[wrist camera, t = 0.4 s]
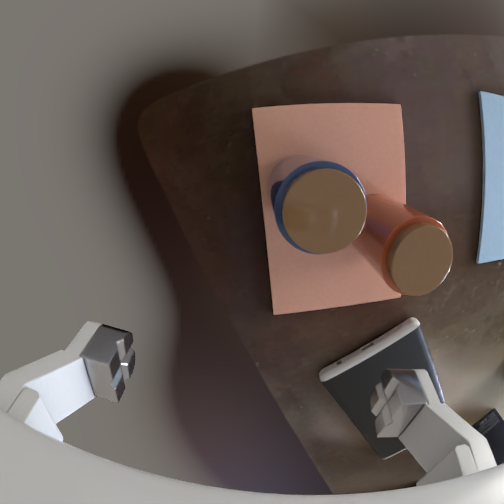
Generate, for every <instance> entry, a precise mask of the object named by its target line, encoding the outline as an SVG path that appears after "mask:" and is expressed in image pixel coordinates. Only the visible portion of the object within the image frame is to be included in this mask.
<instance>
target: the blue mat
mask: <svg viewBox="0 0 504 504" xmlns="http://www.w3.org/2000/svg"><path fill="white" fill-rule="evenodd" d="M478 96H479V105H480V116H481V129H482V149H483V189H482V210H481V224H480V234H479V244H478V252H477V259H476V263H478V264H479V263H484V262H490V261H495V260H500V259H504V96H500V95H496V94H492V93H487V92H482V91H478Z"/></svg>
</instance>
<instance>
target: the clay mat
mask: <svg viewBox="0 0 504 504" xmlns="http://www.w3.org/2000/svg"><path fill="white" fill-rule="evenodd" d="M252 116H253V124H254V133H255V142H256V151H257V159H258V168H259V177H260V187H261V196H262V205H263V214H264V224H265V234H266V243H267V253H268V263H269V273H270V283H271V294H272V304H273V314H274V315H277V314H286V313H295V312H303V311H311V310H319V309H326V308H334V307H341V306H348V305H355V304H361V303H368V302H374V301H381V300H387V299H393V298H399V297H401V294H400V293H397V292H395V291H394V290H392V289H391V288H390V287H389V286H388V285H387V284H386V283H385V282H384V280H383V279H382V278H381V277H380V276H379V275H378V274H377V272H376V271H375V270H374V269H373V268H372V267H371V266H370V264H369V263H368V262H367V261H366V260H365V259H364V258H363V257H362V256H361V254H360V253H359V252H358V251H357V250H356V249H355V248H354V247H353V246H352V245H351V244H350V245H349V246H347V247H346V248H344V249H342V250H340V251H337V252H334V253H329V254H319V255H318V254H310V253H306V252H303V251H300V250H299V249H297V248H295V247H294V246H292V245H291V244H290V243H289V242H287V241H286V239H285V238H284V237H283V236H282V234H281V233H280V231H279V229H278V227H277V224H276V221H275V217H274V214H273V211H272V208H271V205H270V202H269V199H268V195H267V181H268V177H269V175H270V173H271V171H272V169H273V168H274V167H275V166H276V165H277V164H278V163H279V162H280V161H281V160H283V159H285V158H287V157H289V156H293V155H307V156H311V157H315V158H319V159H323V160H327V161H331V162H334V163H338V164H340V165H342V166H344V167H346V168H347V169H349V170H350V171H351V172H352V173H353V174H354V175H355V176H356V177H357V178H358V179H359V181H360V182H361V184H362V186H363V188H364V191H365V194H366V195H368V194H374V193H378V194H383V195H386V196H388V197H390V198H392V199H395V200H397V201H399V202H401V203H403V204H405V205H406V186H405V155H404V138H403V125H402V114H401V105H400V104H382V103H322V104H300V105H284V106H271V107H260V108H252Z"/></svg>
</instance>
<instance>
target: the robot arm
mask: <svg viewBox="0 0 504 504" xmlns="http://www.w3.org/2000/svg"><path fill="white" fill-rule="evenodd" d="M132 343H133V336H132V333H131V332H129V331H125V330H121V329H118V328H114V327H111V326H108V325H104V324H100V323H96V322H93V321H88V322H86V323H85V324H84V326H83V327H82V328H81V330H80V331H79V332H78V334H77V335H76V336H75V338H74V339H73V341H72V342H71V343H70V345H69V346H68V347H67V349H66V350H65V351H62V350H60V351H58V352H56V353H53V354H51V355H49V356H46V357H44V358H41V359H39V360H37V361H34V362H32V363H30V364H27V365H25V366H23V367H20V368H18V369H16V370H14V371H11V372H9V373H6V374H5V375H4V376H3V378H2V379H1V380H0V504H504V463H503V464H501V465H498V466H497V464H496V462H495V459H494V456H493V454H492V451H491V449H490V446H489V444H488V441H487V439H486V438H485V437H484V436H483V435H481V434H480V433H479V432H478V431H477V430H475V429H474V428H473V427H472V426H471V425H470V424H468V423H467V422H466V421H465V420H464V419H462V418H461V417H460V416H459V415H458V414H456V413H455V412H454V411H453V410H452V409H450V408H449V407H448V406H447V405H446V404H444V403H440V400H439V398H438V395H437V393H436V391H435V388H434V386H433V384H432V381H431V379H430V377H429V374H428V372H427V371H426V370H425V369H412V370H411V369H386V370H384V371H383V373H382V374H381V376H380V378H381V382H380V383H378V384H377V385H375V387H374V389H373V390H372V392H371V397H370V408H371V412H372V413H373V414H374V415H375V416H376V419H375V420H374V426H375V431H376V435H377V437H399V440H400V441H401V442H402V443H403V444H404V446H405V447H406V448H407V449H408V451H409V452H410V453H411V454H412V455H413V457H414V458H415V459H416V460H417V462H418V463H419V464H420V465H421V466H422V468H423V469H424V470H425V471H426V472H427V474H425V475H424V476H423V477H422V478H421V479H420V480H418V482H417V483H416V487H410V488H403V489H396V490H389V491H380V492H370V493H358V494H341V495H288V494H271V493H258V492H249V491H240V490H231V489H225V488H218V487H212V486H206V485H201V484H196V483H190V482H185V481H181V480H176V479H172V478H168V477H164V476H160V475H156V474H152V473H149V472H145V471H141V470H138V469H135V468H131V467H128V466H125V465H122V464H119V463H116V462H113V461H110V460H107V459H104V458H101V457H99V456H96V455H93V454H91V453H88V452H86V451H83V450H80V449H78V448H76V447H73V446H71V445H69V444H66V443H64V442H62V441H63V437H62V434H61V433H60V431H59V429H58V428H57V426H56V423H57V422H59V421H61V420H62V419H63V418H65V417H67V416H68V415H70V414H71V413H73V412H74V411H76V410H77V409H78V408H80V407H81V406H83V405H84V404H86V403H87V402H89V401H90V400H92V399H93V398H95V396H96V397H99V398H103V399H106V400H110V401H113V402H116V403H118V402H119V400H120V398H121V396H122V394H123V391H124V389H125V384H124V381H126V380H128V379H129V378H130V377H131V375H132V373H133V369H134V365H135V352H134V350H133V349H132V348H131V344H132Z"/></svg>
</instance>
